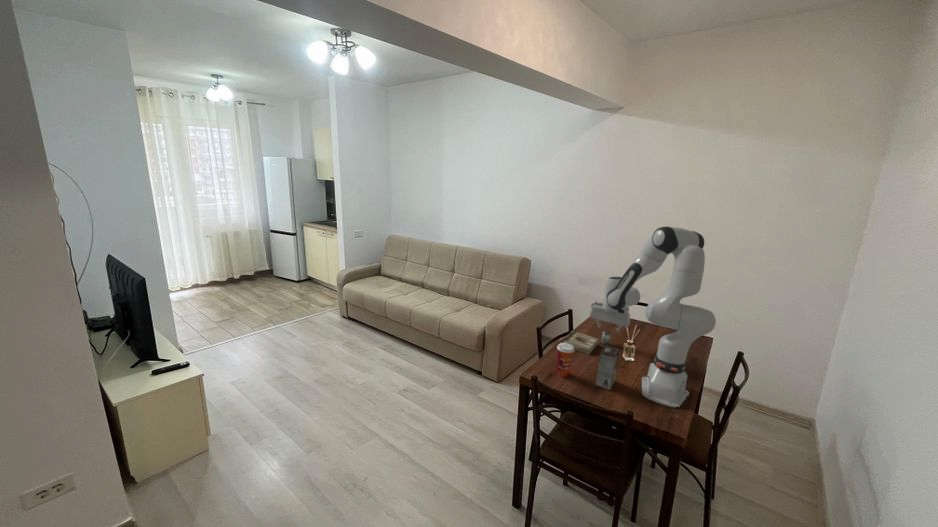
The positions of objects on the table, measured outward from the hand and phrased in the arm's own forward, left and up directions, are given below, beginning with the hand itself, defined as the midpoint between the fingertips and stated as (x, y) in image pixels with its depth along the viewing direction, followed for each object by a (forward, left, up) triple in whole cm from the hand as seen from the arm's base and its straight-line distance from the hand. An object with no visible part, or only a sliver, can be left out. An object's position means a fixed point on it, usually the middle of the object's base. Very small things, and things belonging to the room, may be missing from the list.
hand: (607, 329), depth 201 cm
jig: (-12, +10, -8) cm, 17 cm away
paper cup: (-46, +7, -9) cm, 47 cm away
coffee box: (-41, -11, -9) cm, 43 cm away
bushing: (-1, 0, -9) cm, 9 cm away
